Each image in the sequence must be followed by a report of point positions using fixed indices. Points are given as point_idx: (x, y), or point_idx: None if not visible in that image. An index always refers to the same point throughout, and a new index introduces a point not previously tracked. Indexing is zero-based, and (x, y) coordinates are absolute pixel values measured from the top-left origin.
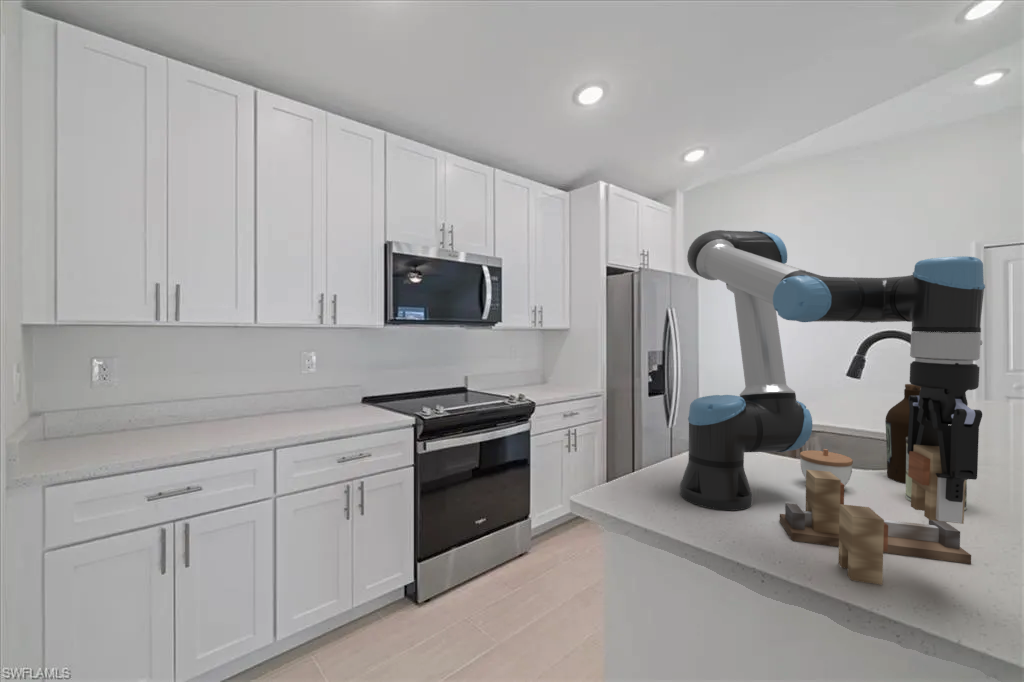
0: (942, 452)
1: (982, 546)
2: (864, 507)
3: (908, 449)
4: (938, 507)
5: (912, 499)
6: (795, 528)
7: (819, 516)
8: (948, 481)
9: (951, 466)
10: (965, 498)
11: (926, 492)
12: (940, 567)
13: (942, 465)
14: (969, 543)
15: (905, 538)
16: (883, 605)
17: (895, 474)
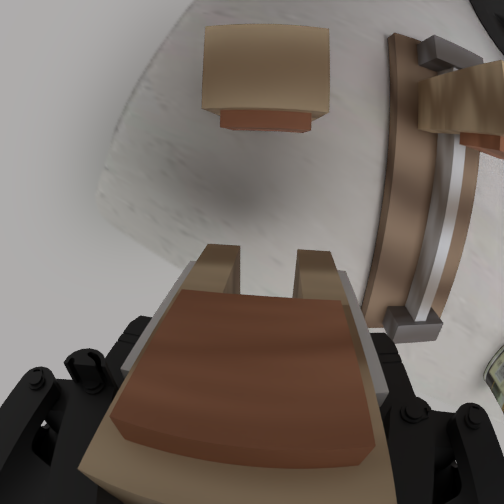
0: (70, 487)
1: (410, 358)
2: (319, 94)
3: (480, 424)
4: (181, 282)
5: (324, 263)
6: (417, 49)
7: (436, 86)
8: (116, 370)
9: (26, 405)
10: (490, 388)
11: (213, 291)
12: (340, 266)
13: (94, 422)
14: (419, 348)
15: (417, 258)
16: (161, 99)
17: None
